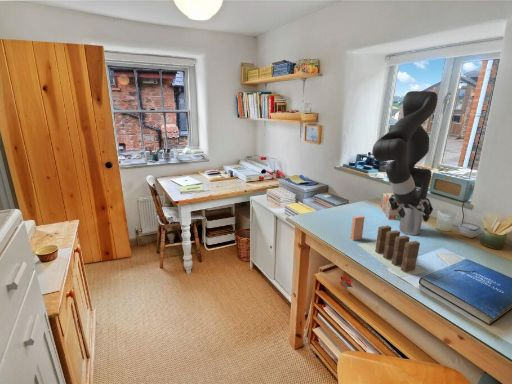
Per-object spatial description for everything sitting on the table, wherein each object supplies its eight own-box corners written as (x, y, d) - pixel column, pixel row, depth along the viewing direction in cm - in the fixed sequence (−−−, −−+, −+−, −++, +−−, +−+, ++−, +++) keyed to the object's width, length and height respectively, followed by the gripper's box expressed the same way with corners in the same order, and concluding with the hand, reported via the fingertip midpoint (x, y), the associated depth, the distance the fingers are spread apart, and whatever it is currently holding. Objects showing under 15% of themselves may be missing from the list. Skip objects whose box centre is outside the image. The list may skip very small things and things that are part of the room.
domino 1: (375, 251, 126) (378, 226, 122) (384, 249, 128) (388, 225, 124) (378, 253, 124) (381, 228, 121) (387, 251, 126) (391, 227, 122)
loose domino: (350, 239, 138) (352, 216, 135) (359, 237, 140) (361, 215, 136) (352, 241, 136) (355, 218, 133) (361, 239, 138) (364, 216, 134)
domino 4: (400, 269, 112) (405, 242, 109) (410, 267, 114) (415, 240, 110) (404, 272, 111) (409, 245, 107) (414, 270, 112) (420, 243, 108)
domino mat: (357, 245, 133) (357, 244, 132) (378, 241, 136) (378, 240, 136) (400, 277, 108) (401, 276, 108) (425, 272, 111) (425, 271, 111)
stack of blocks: (380, 206, 181) (382, 188, 177) (390, 207, 180) (393, 188, 176) (388, 219, 161) (391, 199, 157) (400, 220, 160) (403, 200, 156)
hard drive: (474, 269, 111) (455, 253, 123) (453, 269, 112) (436, 252, 123) (473, 273, 112) (454, 256, 124) (452, 272, 112) (435, 256, 124)
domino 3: (391, 263, 117) (395, 236, 113) (401, 261, 118) (405, 235, 115) (395, 265, 115) (399, 239, 112) (405, 263, 117) (409, 237, 113)
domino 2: (382, 257, 122) (386, 231, 118) (392, 255, 123) (396, 230, 119) (386, 259, 120) (390, 233, 116) (396, 257, 121) (400, 232, 117)
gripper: (428, 181, 97) (438, 214, 105) (388, 178, 109) (400, 208, 116) (419, 195, 95) (430, 228, 102) (379, 191, 106) (392, 221, 113)
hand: (414, 218), depth 109 cm, fingers open, 8 cm apart
